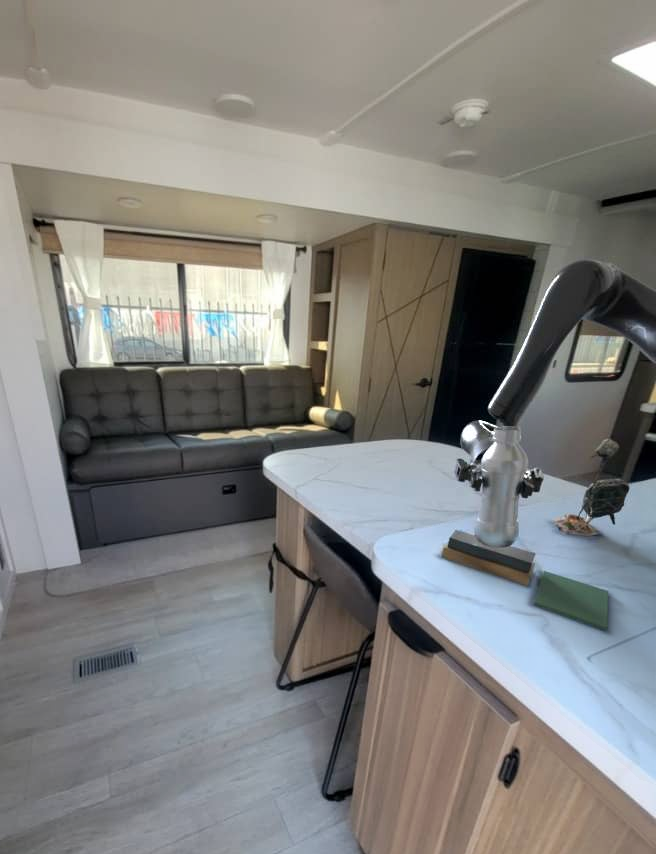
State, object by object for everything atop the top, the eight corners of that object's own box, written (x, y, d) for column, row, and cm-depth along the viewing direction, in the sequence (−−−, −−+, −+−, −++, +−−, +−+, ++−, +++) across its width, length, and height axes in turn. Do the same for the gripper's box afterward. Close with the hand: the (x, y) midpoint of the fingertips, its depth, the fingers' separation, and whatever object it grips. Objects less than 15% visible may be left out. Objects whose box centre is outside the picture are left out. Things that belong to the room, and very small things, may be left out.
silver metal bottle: (477, 532, 74) (487, 424, 67) (519, 539, 71) (535, 424, 63) (469, 547, 70) (478, 432, 62) (514, 555, 66) (530, 433, 59)
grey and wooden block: (532, 572, 70) (539, 553, 69) (527, 586, 67) (535, 565, 65) (449, 546, 78) (453, 527, 76) (441, 556, 74) (445, 537, 72)
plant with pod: (619, 545, 80) (665, 447, 71) (553, 533, 84) (589, 438, 75) (607, 527, 87) (647, 436, 78) (546, 517, 90) (578, 428, 82)
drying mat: (606, 593, 65) (608, 590, 65) (605, 630, 57) (607, 627, 57) (542, 573, 70) (543, 570, 70) (533, 604, 62) (534, 601, 62)
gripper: (456, 436, 79) (458, 460, 65) (540, 445, 74) (562, 473, 60) (448, 472, 82) (449, 503, 68) (529, 483, 78) (547, 518, 63)
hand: (502, 489), depth 64 cm, fingers closed on silver metal bottle, 6 cm apart
